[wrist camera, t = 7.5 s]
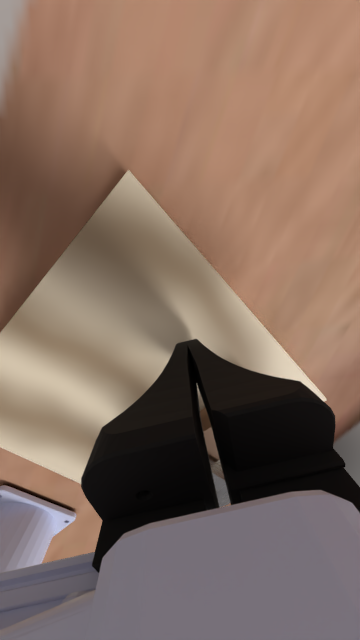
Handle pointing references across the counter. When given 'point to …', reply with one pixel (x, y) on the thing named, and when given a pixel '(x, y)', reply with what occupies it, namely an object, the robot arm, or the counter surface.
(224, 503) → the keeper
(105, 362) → the board
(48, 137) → the counter surface
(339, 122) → the counter surface
